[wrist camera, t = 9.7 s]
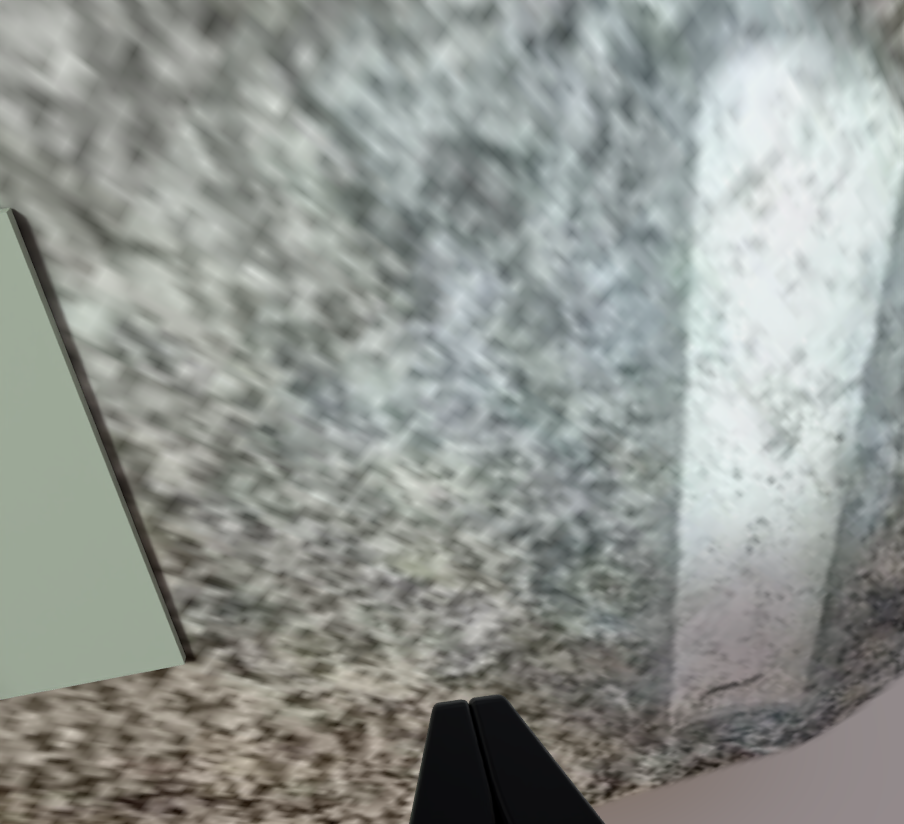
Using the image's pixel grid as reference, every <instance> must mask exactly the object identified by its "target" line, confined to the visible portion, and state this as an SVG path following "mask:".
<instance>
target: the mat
mask: <svg viewBox="0 0 904 824" xmlns="http://www.w3.org/2000/svg"><path fill="white" fill-rule="evenodd" d="M185 659H186V656H185V653H184V650H183V648H182V645H181V643H180V640H179V638H178V635H177V632H176V630H175V627H174V625H173V622H172V620H171V617H170V615H169V612H168V609H167V607H166V604H165V602H164V599H163V597H162V594H161V592H160V589H159V586H158V584H157V581H156V579H155V576H154V574H153V571H152V568H151V566H150V563H149V561H148V558H147V556H146V553H145V551H144V548H143V545H142V543H141V540H140V538H139V535H138V533H137V530H136V528H135V525H134V522H133V520H132V517H131V515H130V512H129V510H128V507H127V504H126V502H125V499H124V497H123V494H122V492H121V489H120V487H119V484H118V481H117V479H116V476H115V474H114V471H113V469H112V466H111V463H110V461H109V458H108V456H107V453H106V451H105V448H104V446H103V443H102V440H101V438H100V435H99V433H98V430H97V428H96V425H95V423H94V420H93V417H92V415H91V412H90V410H89V407H88V405H87V402H86V399H85V397H84V394H83V392H82V389H81V387H80V384H79V382H78V379H77V376H76V374H75V371H74V369H73V366H72V364H71V361H70V359H69V356H68V353H67V351H66V348H65V346H64V343H63V341H62V338H61V335H60V333H59V330H58V328H57V325H56V323H55V320H54V318H53V315H52V312H51V310H50V307H49V305H48V302H47V300H46V297H45V295H44V292H43V289H42V287H41V284H40V282H39V279H38V277H37V274H36V271H35V269H34V266H33V264H32V261H31V259H30V256H29V254H28V251H27V248H26V246H25V243H24V241H23V238H22V236H21V233H20V230H19V228H18V225H17V223H16V220H15V218H14V215H13V213H12V210H11V208H5V209H0V700H2V699H7V698H12V697H17V696H22V695H28V694H33V693H38V692H43V691H48V690H54V689H59V688H64V687H69V686H74V685H80V684H85V683H90V682H95V681H100V680H106V679H111V678H116V677H121V676H126V675H132V674H137V673H142V672H147V671H152V670H157V669H163V668H168V667H173V666H178V665H183V664H185Z"/></svg>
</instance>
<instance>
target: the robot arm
mask: <svg viewBox="0 0 904 824" xmlns="http://www.w3.org/2000/svg"><path fill="white" fill-rule="evenodd" d="M409 824H605V823H604V822H603V821H602V819H601V818H600V817H599V816H598V814H597V813H596V812H595V810H594V809H593V808H592V807H591V805H590V804H589V803H588V802H587V800H586V799H585V798H584V796H583V795H582V794H581V793H580V791H579V790H578V789H577V788H576V786H575V785H574V784H573V783H572V781H571V780H570V779H569V777H568V776H567V775H566V774H565V772H564V771H563V770H562V769H561V767H560V766H559V765H558V763H557V762H556V761H555V760H554V758H553V757H552V756H551V755H550V753H549V752H548V751H547V750H546V748H545V747H544V746H543V744H542V743H541V742H540V741H539V739H538V738H537V737H536V736H535V734H534V733H533V732H532V730H531V729H530V728H529V727H528V725H527V724H526V723H525V722H524V720H523V719H522V718H521V717H520V715H519V714H518V713H517V711H516V710H515V709H514V708H513V706H512V705H511V704H510V703H509V701H508V700H507V699H506V698H505V697H503V696H502V695H490V696H483V697H476V698H472V699H471V700H470V701H469V704H468V703H467V701H465V700H454V701H447V702H440V703H436V704H435V705H434V707H433V709H432V713H431V718H430V723H429V728H428V733H427V738H426V743H425V748H424V753H423V758H422V763H421V768H420V773H419V778H418V783H417V788H416V792H415V797H414V802H413V807H412V812H411V817H410V822H409Z"/></svg>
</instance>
